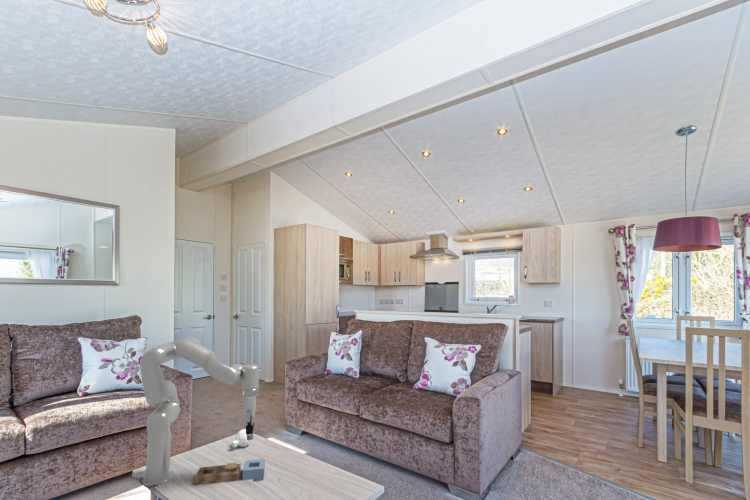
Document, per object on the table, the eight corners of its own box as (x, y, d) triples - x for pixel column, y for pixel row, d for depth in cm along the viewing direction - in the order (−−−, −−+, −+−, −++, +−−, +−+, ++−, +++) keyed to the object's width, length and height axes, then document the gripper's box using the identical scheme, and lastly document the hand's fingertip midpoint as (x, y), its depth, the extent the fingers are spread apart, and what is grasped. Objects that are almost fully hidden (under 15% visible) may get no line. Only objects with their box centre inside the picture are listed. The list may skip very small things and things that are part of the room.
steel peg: (246, 440, 179) (246, 418, 180) (247, 438, 182) (246, 416, 183) (253, 439, 180) (252, 417, 181) (253, 437, 183) (253, 415, 183)
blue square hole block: (242, 482, 174) (242, 470, 174) (244, 471, 184) (245, 460, 184) (263, 480, 176) (263, 468, 176) (264, 469, 186) (264, 459, 186)
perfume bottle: (243, 437, 221) (226, 447, 210) (246, 423, 219) (229, 432, 209) (254, 444, 217) (237, 455, 206) (257, 430, 215) (240, 440, 205)
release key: (225, 478, 175) (226, 466, 176) (226, 474, 179) (227, 463, 179) (235, 476, 176) (236, 465, 177) (236, 473, 180) (237, 462, 180)
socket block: (194, 487, 170) (195, 477, 170) (199, 476, 179) (199, 467, 180) (237, 482, 174) (238, 473, 174) (240, 472, 183) (240, 463, 184)
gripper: (243, 388, 190) (243, 427, 188) (239, 397, 174) (239, 439, 172) (259, 387, 192) (259, 425, 190) (257, 396, 176) (256, 438, 174)
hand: (249, 431), depth 181 cm, fingers closed on steel peg, 3 cm apart
